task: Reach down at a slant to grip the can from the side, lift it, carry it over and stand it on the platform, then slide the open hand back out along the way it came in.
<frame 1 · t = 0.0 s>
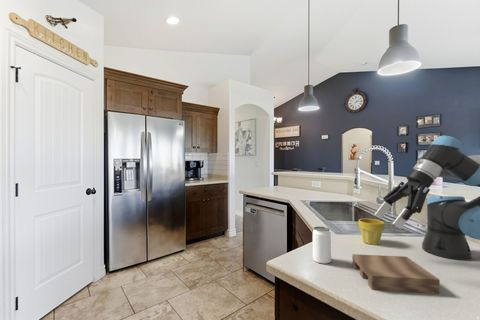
hand: (386, 221, 87), 15 cm above the worktop, tool tilted 35°, fingers open, 13 cm apart
platform: (390, 277, 76), on the worktop
can: (321, 261, 89), on the worktop
plant pot: (371, 242, 108), on the worktop
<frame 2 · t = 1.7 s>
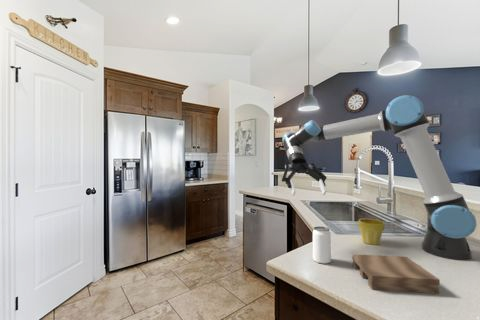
hand: (309, 193, 99), 24 cm above the worktop, tool tilted 45°, fingers open, 13 cm apart
nothing on the worktop moved.
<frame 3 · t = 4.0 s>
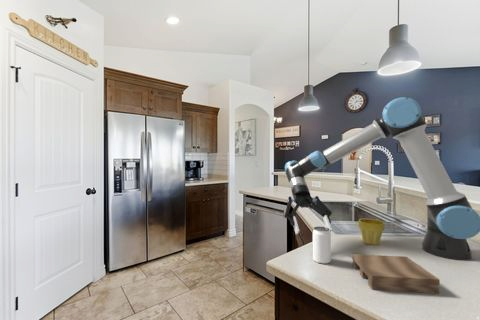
hand: (314, 232, 93), 9 cm above the worktop, tool tilted 45°, fingers open, 13 cm apart
nothing on the worktop moved.
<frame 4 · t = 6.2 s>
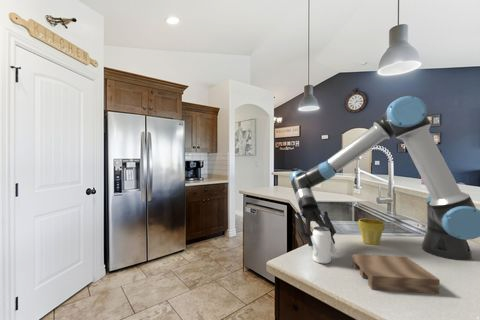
hand: (325, 253, 86), 4 cm above the worktop, tool tilted 45°, fingers closed on can, 6 cm apart
can: (321, 261, 89), on the worktop, touching gripper
everything else where it was.
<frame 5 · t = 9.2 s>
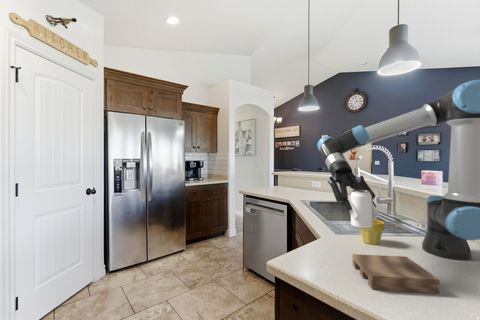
hand: (366, 217, 78), 19 cm above the worktop, tool tilted 45°, fingers closed on can, 6 cm apart
can: (361, 226, 80), point 15 cm above the worktop, touching gripper
everything else where it was.
when the fingers open (8 cm above the worktop, at t = 12.6 s): can stays where it is, resting on platform.
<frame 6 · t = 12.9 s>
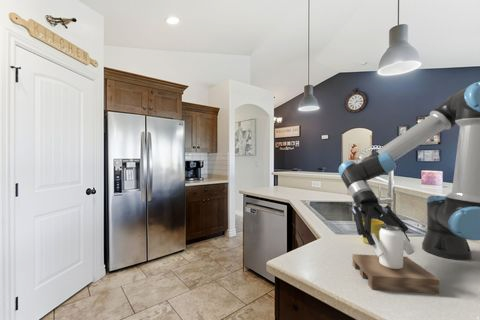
hand: (396, 253, 73), 9 cm above the worktop, tool tilted 45°, fingers open, 10 cm apart
can: (390, 265, 76), point 4 cm above the worktop, touching platform
everything else where it was.
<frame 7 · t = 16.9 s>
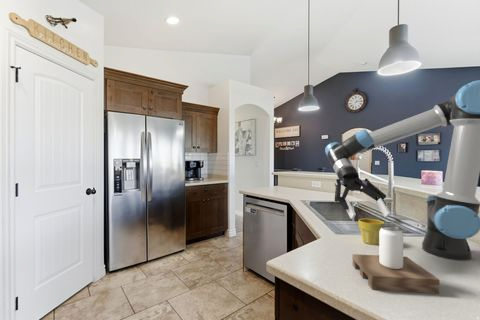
hand: (370, 216, 84), 18 cm above the worktop, tool tilted 45°, fingers open, 13 cm apart
nothing on the worktop moved.
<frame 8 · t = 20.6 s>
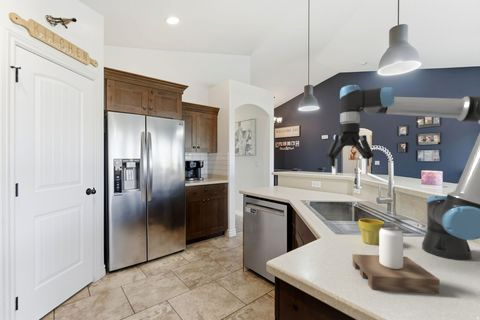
hand: (349, 174, 99), 32 cm above the worktop, tool pointing down, fingers open, 13 cm apart
nothing on the worktop moved.
at the end: can inside the target area on the platform (0.1 cm from its centre), point 3.8 cm above the platform's base; can tilted 0°; the gripper is holding nothing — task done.
